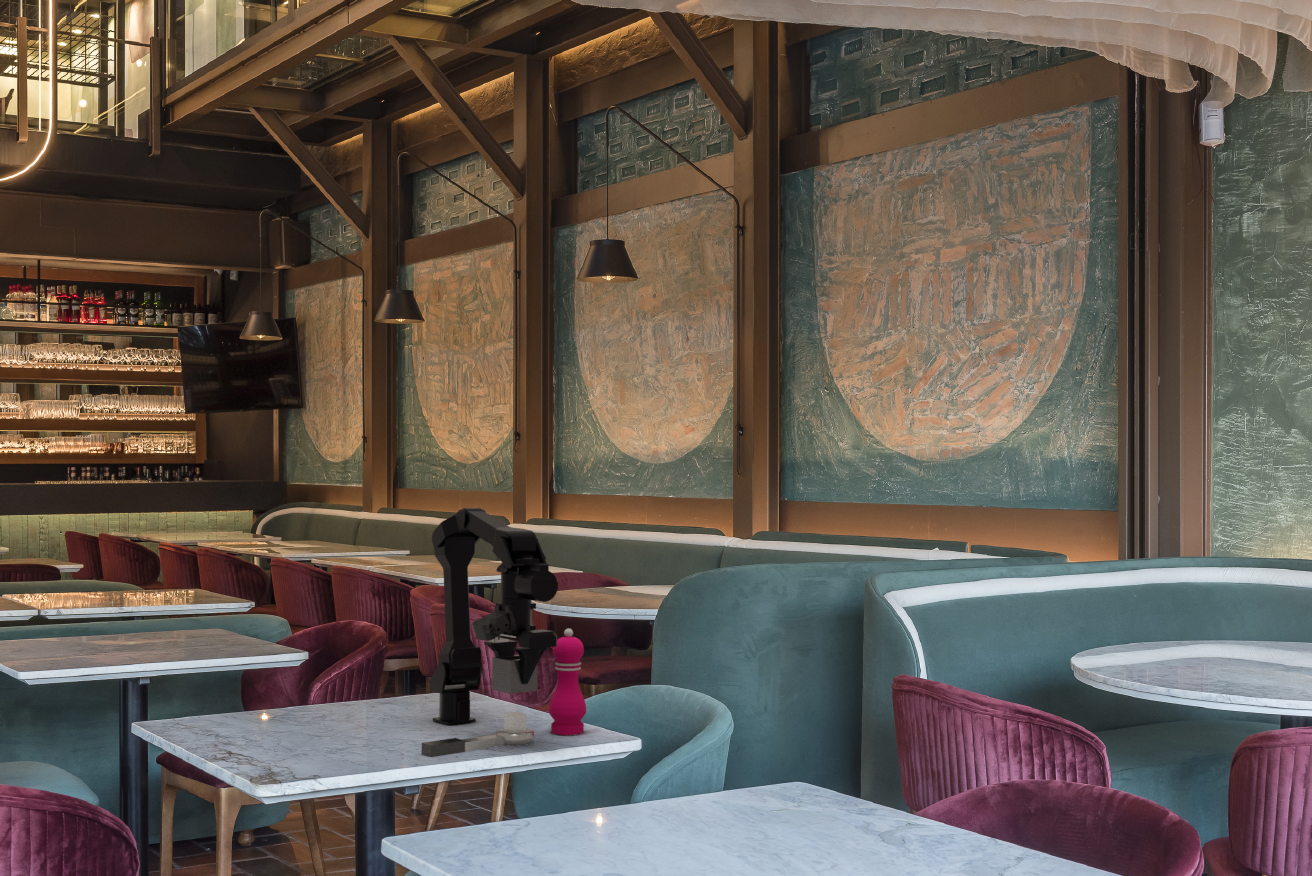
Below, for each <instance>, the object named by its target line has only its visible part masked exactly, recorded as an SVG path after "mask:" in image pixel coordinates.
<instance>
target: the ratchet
mask: <svg viewBox="0 0 1312 876" xmlns="http://www.w3.org/2000/svg"><path fill="white" fill-rule="evenodd" d="M526 721H527V714H526V713H523V712H520V711H516V712H508V713H506V712H505V713H504V728H499V729H497V730H496V733H495V734H489V735H484V736H476V737H470V738H464V739H463V738H456V737H453V738H446V739H445V738H444V739H439V740H433V741H425V742H421V753H420V754H421V755H423V756H427V757H429V758H433V757H439V756H441V757H442V756H446V755H454V754H460V753H461V754H462V753H465V752H471V751H476V750H483V749H489V747H490V748H495V746H497V747H502V745H503V746H507V745H510V746H511V747H517V745H521V746H527V745H526V744H528V745H531V744H530V743H532V744H534V743H535V730H534V729H532V728H528V727H527V726H526V725H527V724H526V723H527V722H526ZM533 742H534V743H533ZM512 745H513V746H512ZM510 746H509V747H510Z"/></svg>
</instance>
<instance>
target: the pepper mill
mask: <svg viewBox="0 0 1312 876" xmlns="http://www.w3.org/2000/svg"><path fill="white" fill-rule="evenodd" d="M563 635H564V636H562V637H560V638H557V646H555V647H552V654H553V656H554V658H555V659H556V661H555V667H554V669H555V670H556V671H557V672H556V673H557V683H556V687H555V689H554V693H553V695H552V697H551V699H550V703H549V705H548V706H549V707H548V713H549V716H550V717H551V718H552V719H553V722H552V723H551V726H550V727H551V729H550V730H551V734H553V733H554V734H553V735H556V734H560V735H559V736H575V735H574V734H578V735H582V734H583V733H584V725H585V724H584V722H583V721H582V719H583V718H584V717H585V715H586V713H587V704H586V700H585V698H584V695H583V693H582V690H581V688H580V683H579V673H580V670H581V669H582V667H581V665H582V662H581V661H580V660H581V659H582V658H583V656H584V653H585V649H584V644H583V642H582V641H581V640H580V639H579V638H577V637H575V636H573V635H574V631H573V630H572V628H566V629H565V630H564V632H563ZM581 733H582V734H581Z"/></svg>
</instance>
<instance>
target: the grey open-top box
mask: <svg viewBox="0 0 1312 876" xmlns="http://www.w3.org/2000/svg"><path fill="white" fill-rule="evenodd" d="M491 662H492V666H491V668H492V669H491V671H492V673H491V690H492V691H495V692H501V693H504V694H510V695H511V694H521V693H528V692H529V693H530V692H536V691H538V665H537V666H536V668H535V670H534V672H533V674H532V676H531V678H530V680H529V682H528V684H522V680H521V668H520V656H519V654H514V655H511V656H501V657H495V656H493V657H492V660H491Z"/></svg>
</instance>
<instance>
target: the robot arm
mask: <svg viewBox="0 0 1312 876" xmlns="http://www.w3.org/2000/svg"><path fill="white" fill-rule="evenodd" d="M480 540H483V541H485V542H486V543H488V544H489V545H491V547H492V553H493V554H494V555H495V556H496V557H497V558H498V560H499V561H501V564H500V565H498V566H497V568H496V572H497V573H500V602H496V603H495V605H494V611H493V612H491V613H488V614H486V615H484V616H481V618H478V619H476V620H474V621H473V622H472V623H471V617H470V593H469V592H470V591H469V570H468V569H469V566H470V564H471V562H472V560H473V559H474V556H475V554H476V545H477V543H478V542H479V541H480ZM431 543H432V546H433V551H434V557H435V558H436V560H437V561H438V562H439V564H440V566H441V567H442V570H443V571H442V572H443V594H444V596H443V597H444V620H445V642H444V644H443V646H442V648H441V650H440V651H439V653H438V663H437V664H438V665H437V666H436V668H435V670H434V672H433V673H432V676H431V678H430V679H429V686H430V691H431V692H434V693H437V694H439V715H438V716H437V717H432V721H433V722H434V721H435V722H436V723H437V722H438V723H440V724H444V725H445V724H446V725H448V726H449V725H450V726H451V725H458V724H465V723H473V722H476V721H477V718H475V717H471V698H470V697H471V691H479V689H480V684H481V679H482V675H483V663H482V650H481V648H480V647H479V646H476V645H475V643H474V642H473V640H472V638H471V637H472V636H471V624H472V628H473V631H474V634H475V635H474V636H475V640H478V641H479V640H480V641H483V644H484V645H485V646H487V647H488V648H489V649H490V650H491V651H492V652H493V653H494V657H501V656H511V655H516V653H517V655H519V656H520V668H521V680H522V684H528V682H529V680H530V678H531V676H532V674H533V672H534V670H535V668H536V666H537V667H538V665H539V664H538V663H539V661H540V660H541V658H542V656H543V655H544V653H545V651H546V650H547V651H548V650H549V648H551V647H552V648H553V647H555V646H557V640H558V635H557V634H556V633H555V631H554V630H549V629H547V630H546V629H537V628H536V627H537V626H536V625H535V624H532V610H535V609H537V603H535V602H541V603H546V602H549V601H551V600H552V599H554V597H556V594H557V592H558V590H559V589H558V588H559V582H558V579H557V578H556V576H555V574H554V573H553V572H552V571H550V568H549V567H550V565H549V564H548V563H547V561H546V559H547V558H546V557H547V556H545V554H544V552H543V549H542V547H541V545H540V542H539V539H538V537H537V534H535V532H534V531H533V530H530V529H526V528H518V527H512V526H509V525H507V524H506V523H504V522H502V521H500V520H499V519H498V518H496V517H494V516H492V515H490V514H489V513H487V512H486V510H484V509H483V508H481V507H463V508H461V509H459V510H458V511H457V512H456V513H455V514H454V515H452V516H449V517H448V518H446V519H444V520H442V521H441V522H440V523H439V524H438V525H437V527H436V528H435V529H434V530H433V532H432V534H431ZM532 601H534V602H532ZM517 643H519V645H520V646H519V647H517V645H518V644H517Z"/></svg>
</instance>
